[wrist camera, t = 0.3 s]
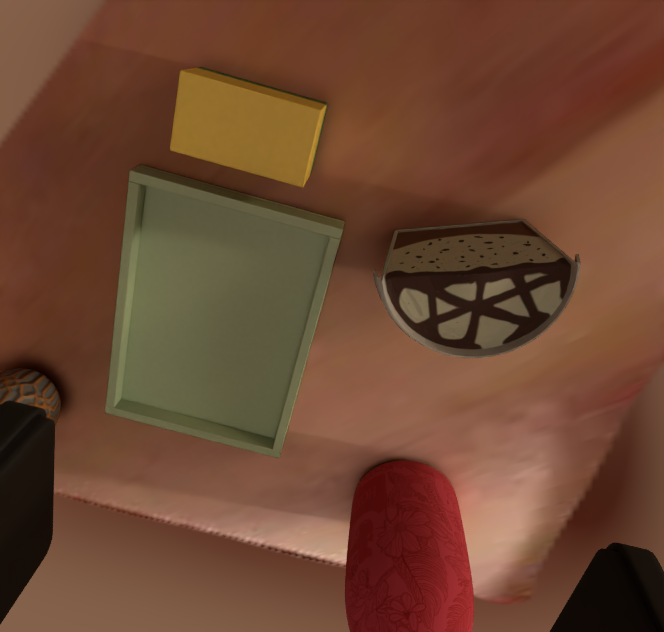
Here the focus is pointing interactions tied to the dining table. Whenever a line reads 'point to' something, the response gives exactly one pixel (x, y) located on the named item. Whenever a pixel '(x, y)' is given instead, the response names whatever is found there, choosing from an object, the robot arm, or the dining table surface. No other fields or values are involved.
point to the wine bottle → (407, 554)
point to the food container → (475, 286)
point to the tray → (215, 309)
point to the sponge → (246, 125)
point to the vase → (30, 390)
